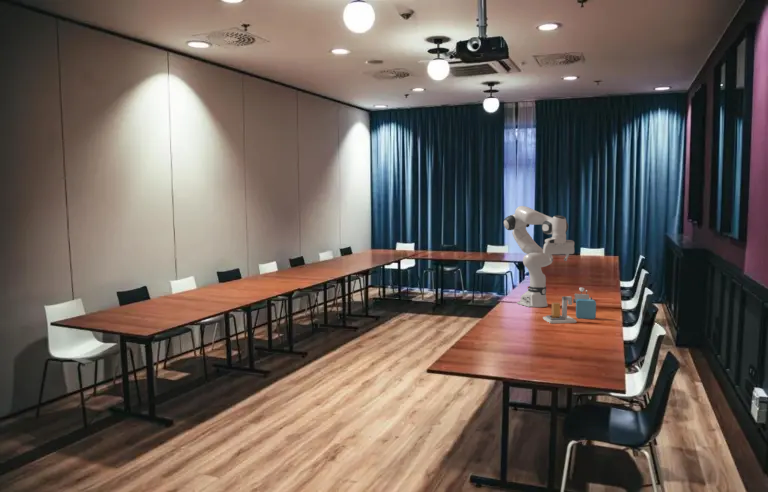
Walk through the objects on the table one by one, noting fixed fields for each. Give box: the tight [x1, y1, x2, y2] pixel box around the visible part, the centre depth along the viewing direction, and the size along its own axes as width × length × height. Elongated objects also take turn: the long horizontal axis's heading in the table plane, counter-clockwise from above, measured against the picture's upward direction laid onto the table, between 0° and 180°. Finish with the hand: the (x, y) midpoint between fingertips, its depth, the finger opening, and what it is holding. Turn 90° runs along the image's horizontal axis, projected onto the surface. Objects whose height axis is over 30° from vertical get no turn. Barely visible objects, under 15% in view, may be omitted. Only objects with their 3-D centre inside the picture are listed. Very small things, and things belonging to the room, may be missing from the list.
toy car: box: [572, 286, 593, 304], centre depth 418 cm, size 18×10×12 cm
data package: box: [575, 299, 597, 320], centre depth 362 cm, size 12×4×12 cm, turn 73°
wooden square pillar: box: [550, 302, 561, 318], centre depth 355 cm, size 4×4×10 cm
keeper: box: [542, 295, 577, 324], centre depth 355 cm, size 17×13×16 cm
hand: (558, 260), depth 368 cm, fingers open, 8 cm apart
